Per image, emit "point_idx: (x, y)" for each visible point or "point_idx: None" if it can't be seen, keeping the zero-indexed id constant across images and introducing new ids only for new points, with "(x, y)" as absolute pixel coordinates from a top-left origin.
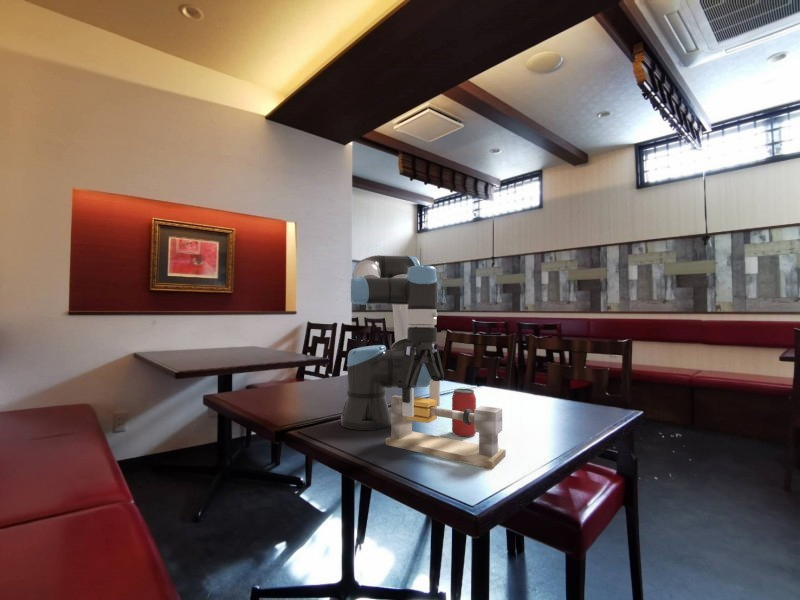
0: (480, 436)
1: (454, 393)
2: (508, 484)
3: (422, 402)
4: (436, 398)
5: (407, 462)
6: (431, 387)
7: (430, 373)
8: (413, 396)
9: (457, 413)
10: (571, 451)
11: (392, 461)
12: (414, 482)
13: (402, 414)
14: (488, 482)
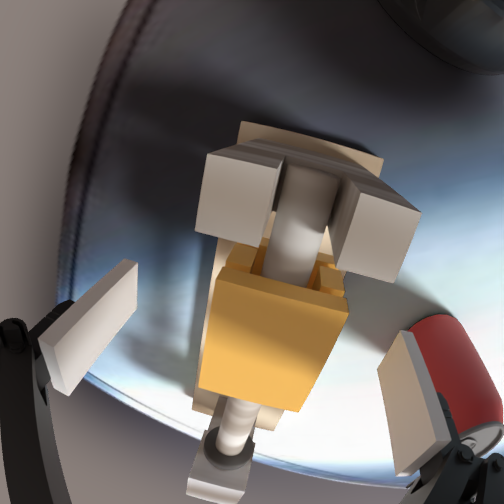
0: (208, 429)
1: (464, 425)
2: (151, 407)
3: (203, 366)
4: (388, 388)
5: (137, 242)
6: (416, 414)
7: (420, 500)
8: (87, 366)
9: (220, 437)
10: (332, 475)
11: (125, 202)
12: (70, 281)
13: (121, 261)
14: (140, 387)
